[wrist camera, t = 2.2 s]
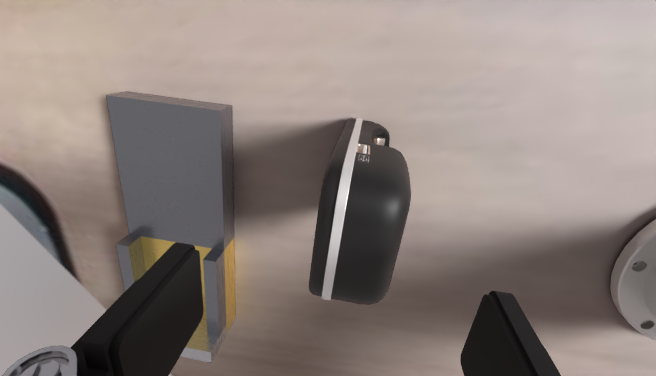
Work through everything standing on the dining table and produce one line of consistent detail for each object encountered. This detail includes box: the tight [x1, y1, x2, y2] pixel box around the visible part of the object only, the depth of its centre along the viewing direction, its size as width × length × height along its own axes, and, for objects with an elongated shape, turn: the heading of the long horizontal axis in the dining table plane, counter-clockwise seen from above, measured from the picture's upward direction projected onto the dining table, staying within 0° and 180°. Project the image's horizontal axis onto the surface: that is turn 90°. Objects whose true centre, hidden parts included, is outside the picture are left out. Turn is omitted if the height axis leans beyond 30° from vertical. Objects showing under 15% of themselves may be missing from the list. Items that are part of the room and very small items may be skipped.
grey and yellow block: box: [106, 91, 235, 363], centre depth 25 cm, size 8×20×5 cm, turn 174°
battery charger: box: [309, 118, 411, 305], centre depth 19 cm, size 7×4×11 cm, turn 173°
